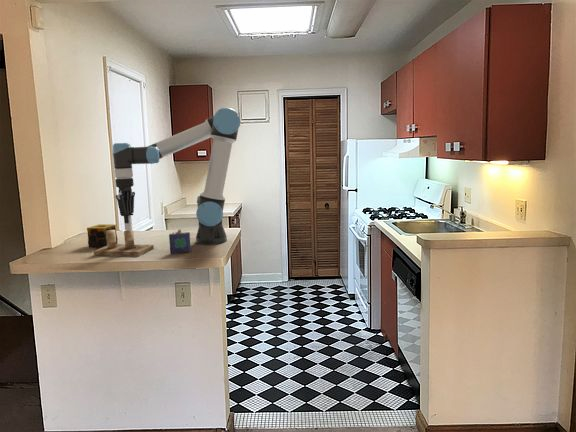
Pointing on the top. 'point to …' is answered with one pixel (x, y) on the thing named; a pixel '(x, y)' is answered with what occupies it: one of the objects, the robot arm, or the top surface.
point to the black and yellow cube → (99, 235)
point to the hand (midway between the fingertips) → (128, 229)
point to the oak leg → (129, 239)
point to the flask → (179, 242)
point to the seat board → (121, 247)
